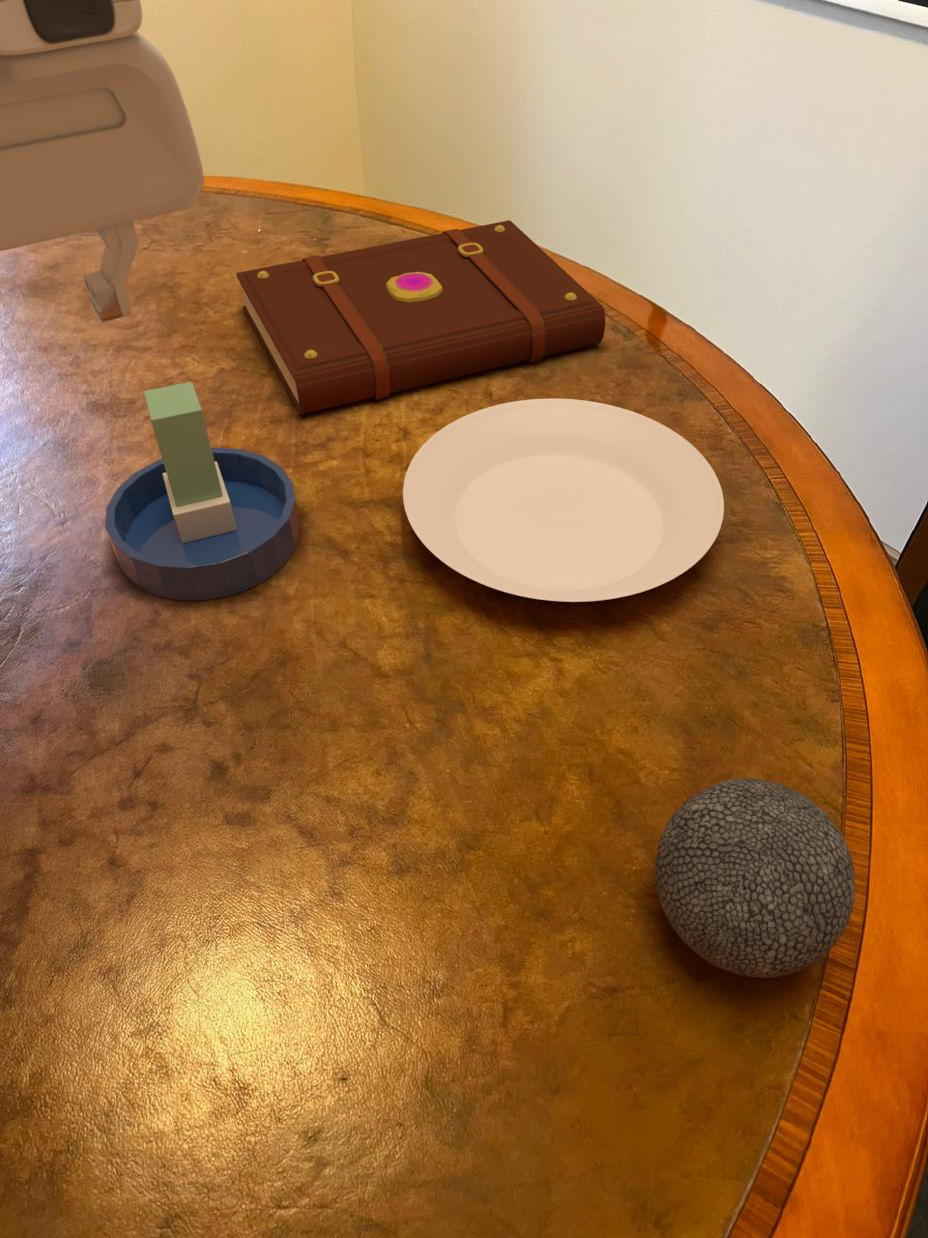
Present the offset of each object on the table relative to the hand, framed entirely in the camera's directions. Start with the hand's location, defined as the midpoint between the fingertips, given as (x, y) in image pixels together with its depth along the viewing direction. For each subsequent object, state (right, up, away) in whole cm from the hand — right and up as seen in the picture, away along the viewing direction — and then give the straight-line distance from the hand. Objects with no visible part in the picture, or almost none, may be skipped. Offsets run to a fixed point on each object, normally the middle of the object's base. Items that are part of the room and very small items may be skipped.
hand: (14, 339), depth 44 cm
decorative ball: (+36, -30, +9) cm, 48 cm away
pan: (+1, -6, +31) cm, 32 cm away
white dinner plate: (+29, -5, +32) cm, 44 cm away
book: (+16, +17, +54) cm, 58 cm away
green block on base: (0, -5, +32) cm, 32 cm away
